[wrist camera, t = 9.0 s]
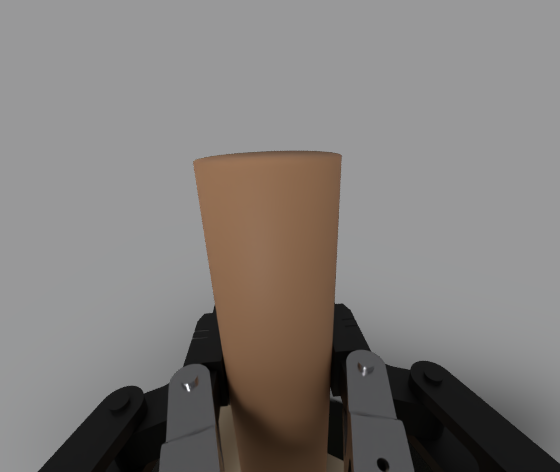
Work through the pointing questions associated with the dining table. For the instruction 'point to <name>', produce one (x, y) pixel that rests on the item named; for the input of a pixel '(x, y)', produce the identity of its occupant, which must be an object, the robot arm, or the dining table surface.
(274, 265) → the long dowel
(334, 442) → the dining table surface
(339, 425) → the dining table surface
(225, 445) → the wooden block with hole
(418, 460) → the dining table surface
